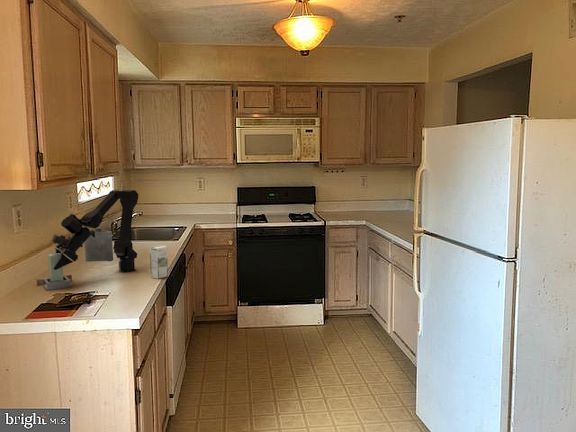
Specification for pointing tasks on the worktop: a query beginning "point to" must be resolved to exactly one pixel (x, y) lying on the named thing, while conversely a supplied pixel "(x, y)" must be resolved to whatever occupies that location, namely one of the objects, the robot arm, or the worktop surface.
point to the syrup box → (159, 261)
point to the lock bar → (53, 259)
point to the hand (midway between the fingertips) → (52, 267)
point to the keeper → (57, 283)
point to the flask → (99, 246)
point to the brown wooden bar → (41, 281)
